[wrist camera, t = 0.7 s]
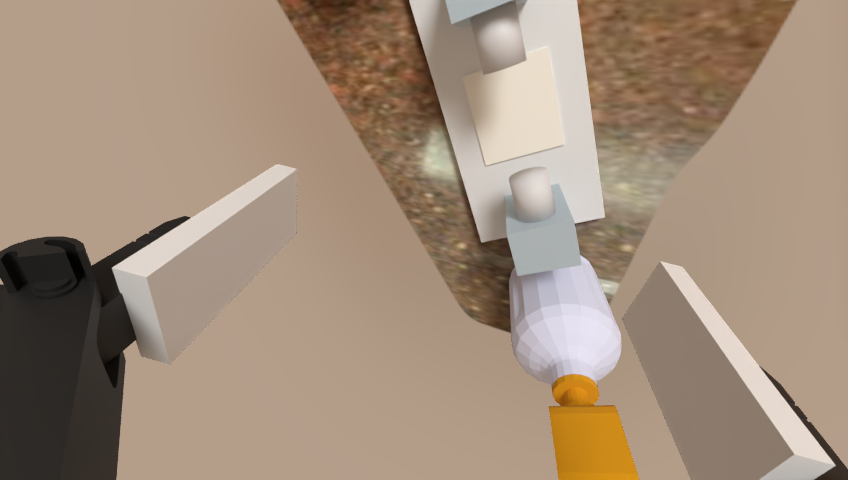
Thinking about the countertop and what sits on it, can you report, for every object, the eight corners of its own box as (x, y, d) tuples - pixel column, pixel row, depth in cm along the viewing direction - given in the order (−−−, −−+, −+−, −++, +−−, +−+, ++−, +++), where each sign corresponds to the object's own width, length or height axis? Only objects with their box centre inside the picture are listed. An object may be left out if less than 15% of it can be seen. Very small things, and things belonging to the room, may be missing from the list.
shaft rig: (406, -18, 29) (373, -37, 21) (562, -89, 26) (590, -143, 18) (481, 238, 39) (477, 287, 31) (602, 213, 35) (631, 262, 28)
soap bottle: (515, 316, 43) (532, 581, 22) (503, 251, 39) (509, 498, 18) (596, 309, 41) (701, 600, 20) (592, 239, 37) (718, 509, 16)
